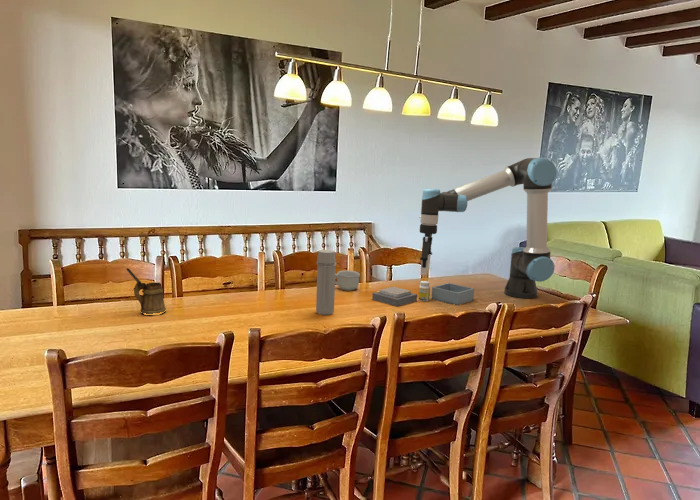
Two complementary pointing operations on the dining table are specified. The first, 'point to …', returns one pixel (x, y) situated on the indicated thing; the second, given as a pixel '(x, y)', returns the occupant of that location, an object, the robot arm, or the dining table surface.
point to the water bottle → (325, 282)
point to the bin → (453, 293)
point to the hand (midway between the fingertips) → (424, 271)
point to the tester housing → (394, 299)
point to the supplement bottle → (424, 291)
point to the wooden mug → (149, 296)
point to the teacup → (347, 280)
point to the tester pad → (394, 292)
